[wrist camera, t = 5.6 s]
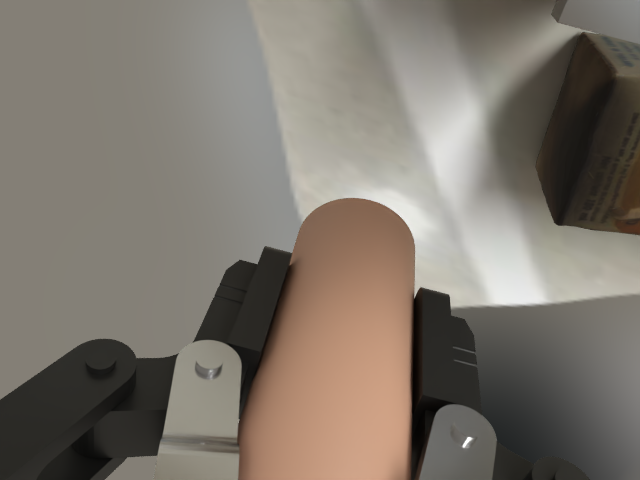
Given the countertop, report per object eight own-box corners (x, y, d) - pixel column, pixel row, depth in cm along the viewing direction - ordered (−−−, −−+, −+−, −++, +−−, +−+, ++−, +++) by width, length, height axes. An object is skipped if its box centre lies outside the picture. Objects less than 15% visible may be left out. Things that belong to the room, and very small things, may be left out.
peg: (310, 184, 16) (191, 546, 8) (430, 216, 16) (441, 612, 8) (287, 278, 18) (173, 648, 10) (395, 307, 18) (373, 701, 10)
